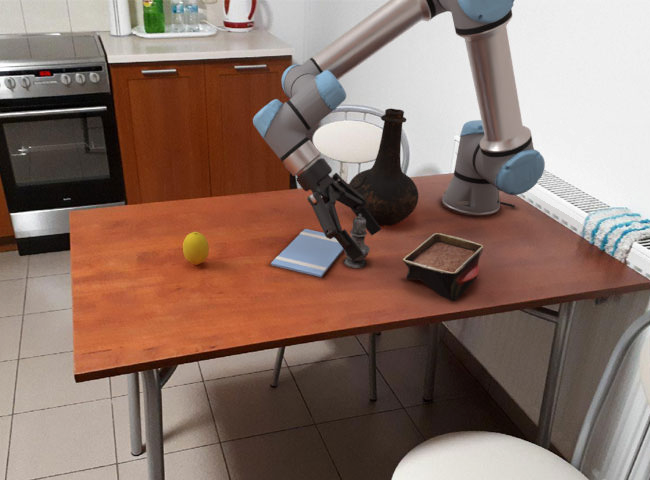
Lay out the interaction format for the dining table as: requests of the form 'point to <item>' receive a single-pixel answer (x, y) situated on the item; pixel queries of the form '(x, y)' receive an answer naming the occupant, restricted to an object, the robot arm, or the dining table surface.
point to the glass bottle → (388, 177)
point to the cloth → (309, 253)
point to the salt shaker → (358, 243)
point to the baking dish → (445, 264)
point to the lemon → (195, 248)
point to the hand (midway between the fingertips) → (367, 244)
